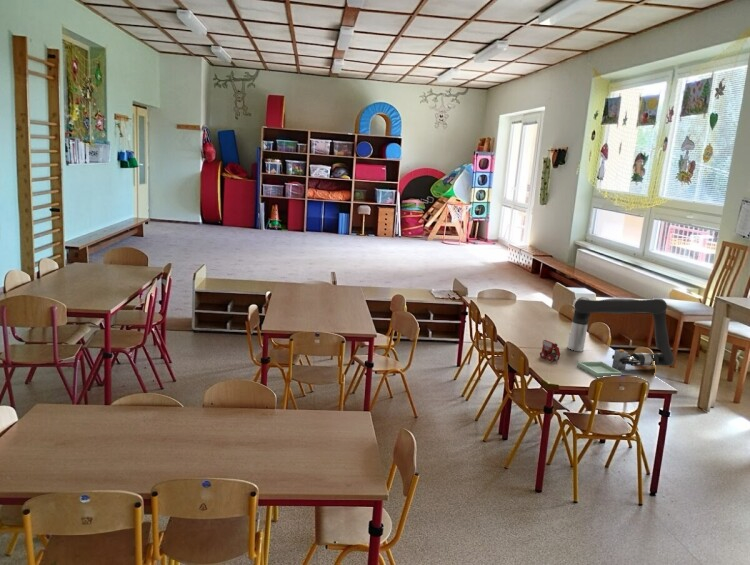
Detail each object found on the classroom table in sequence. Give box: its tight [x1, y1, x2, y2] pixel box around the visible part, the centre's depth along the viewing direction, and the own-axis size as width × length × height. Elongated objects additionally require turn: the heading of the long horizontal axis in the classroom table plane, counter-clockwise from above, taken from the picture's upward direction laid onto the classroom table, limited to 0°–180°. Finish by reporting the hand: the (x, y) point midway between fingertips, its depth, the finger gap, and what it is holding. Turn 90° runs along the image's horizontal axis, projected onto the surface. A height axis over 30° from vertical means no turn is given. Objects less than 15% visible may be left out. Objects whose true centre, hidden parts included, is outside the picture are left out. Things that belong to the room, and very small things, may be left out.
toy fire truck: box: [539, 339, 561, 362], centre depth 353 cm, size 7×12×10 cm, turn 35°
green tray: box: [576, 361, 623, 379], centre depth 339 cm, size 18×16×3 cm
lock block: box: [611, 349, 629, 372], centre depth 346 cm, size 5×5×12 cm
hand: (617, 359), depth 345 cm, fingers open, 8 cm apart
